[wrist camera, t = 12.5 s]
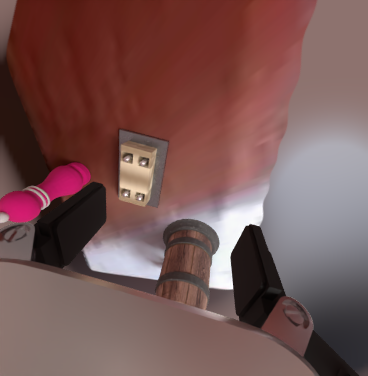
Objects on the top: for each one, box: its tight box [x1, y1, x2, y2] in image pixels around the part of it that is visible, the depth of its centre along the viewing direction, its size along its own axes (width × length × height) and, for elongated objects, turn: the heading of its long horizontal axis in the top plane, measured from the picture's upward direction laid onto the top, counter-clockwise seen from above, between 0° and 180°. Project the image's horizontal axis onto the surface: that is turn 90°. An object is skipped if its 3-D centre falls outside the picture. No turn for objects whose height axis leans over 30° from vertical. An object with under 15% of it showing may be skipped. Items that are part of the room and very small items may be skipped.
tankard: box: [155, 219, 219, 310], centre depth 44 cm, size 24×17×20 cm
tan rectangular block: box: [119, 141, 157, 207], centre depth 40 cm, size 14×7×4 cm, turn 167°
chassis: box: [118, 129, 169, 208], centre depth 40 cm, size 18×11×6 cm, turn 168°
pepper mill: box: [0, 162, 91, 223], centre depth 37 cm, size 7×7×20 cm
